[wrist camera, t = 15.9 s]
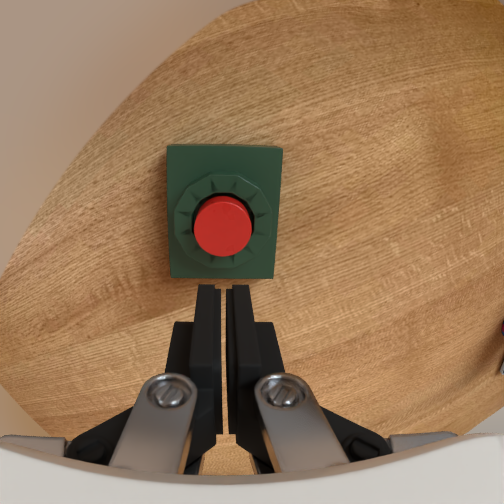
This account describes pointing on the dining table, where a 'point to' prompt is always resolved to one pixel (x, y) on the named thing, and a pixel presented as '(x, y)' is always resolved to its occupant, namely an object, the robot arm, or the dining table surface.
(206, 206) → the button
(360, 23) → the dining table surface
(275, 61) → the dining table surface
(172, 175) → the block
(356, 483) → the robot arm
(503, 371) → the smartphone
